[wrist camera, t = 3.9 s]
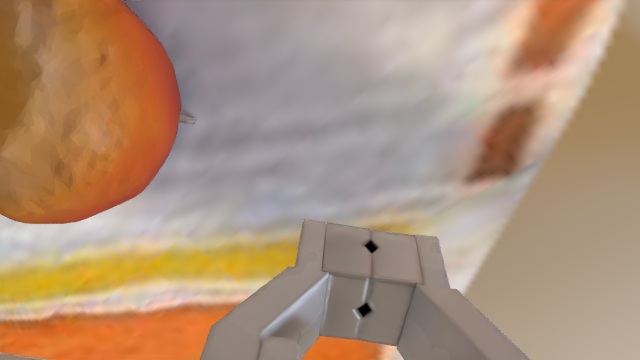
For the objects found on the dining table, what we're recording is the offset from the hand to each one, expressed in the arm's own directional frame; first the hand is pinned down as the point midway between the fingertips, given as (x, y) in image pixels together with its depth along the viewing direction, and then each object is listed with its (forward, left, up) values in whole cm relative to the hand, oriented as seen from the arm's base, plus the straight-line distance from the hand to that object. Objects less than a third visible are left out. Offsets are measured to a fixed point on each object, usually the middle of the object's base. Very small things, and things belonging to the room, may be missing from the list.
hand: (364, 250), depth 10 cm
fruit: (0, -10, -9) cm, 14 cm away
